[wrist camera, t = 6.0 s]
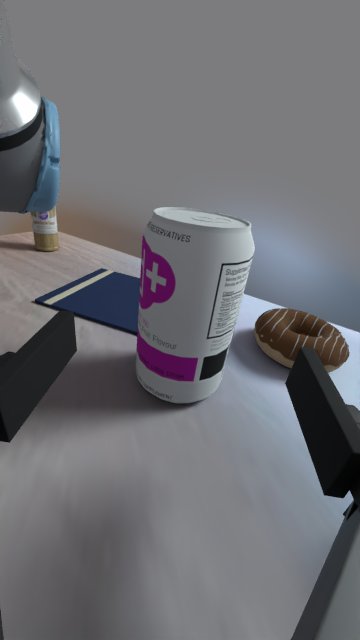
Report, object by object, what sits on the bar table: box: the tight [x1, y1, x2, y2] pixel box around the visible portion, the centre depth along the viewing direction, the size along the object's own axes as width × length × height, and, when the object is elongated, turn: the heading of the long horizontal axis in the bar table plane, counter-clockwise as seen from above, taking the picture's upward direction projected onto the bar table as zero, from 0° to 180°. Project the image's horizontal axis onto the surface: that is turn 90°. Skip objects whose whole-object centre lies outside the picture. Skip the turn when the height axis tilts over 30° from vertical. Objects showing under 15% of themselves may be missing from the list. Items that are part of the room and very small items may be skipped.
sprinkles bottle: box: [31, 207, 59, 251], centre depth 52 cm, size 5×5×14 cm
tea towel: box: [35, 268, 140, 335], centre depth 40 cm, size 20×15×1 cm
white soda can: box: [136, 207, 255, 403], centre depth 23 cm, size 8×8×15 cm
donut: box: [254, 308, 349, 372], centre depth 32 cm, size 11×11×4 cm
